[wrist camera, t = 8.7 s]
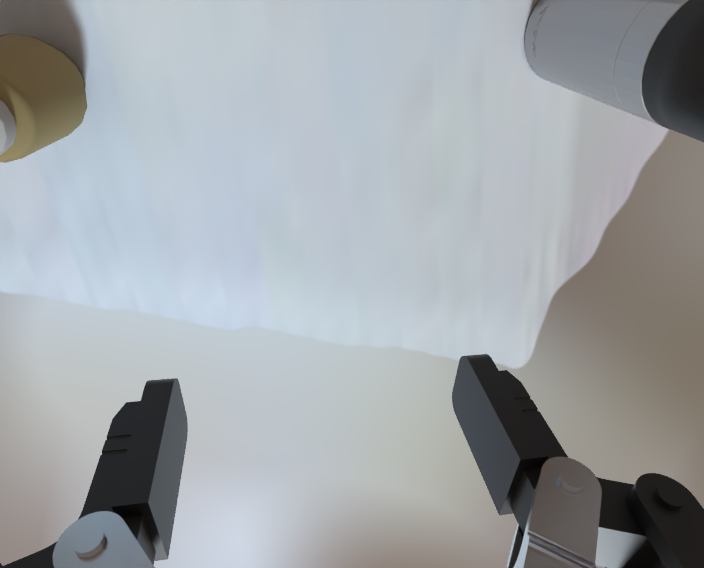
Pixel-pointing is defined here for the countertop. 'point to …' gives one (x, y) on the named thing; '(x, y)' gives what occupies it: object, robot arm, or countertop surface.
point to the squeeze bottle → (36, 96)
